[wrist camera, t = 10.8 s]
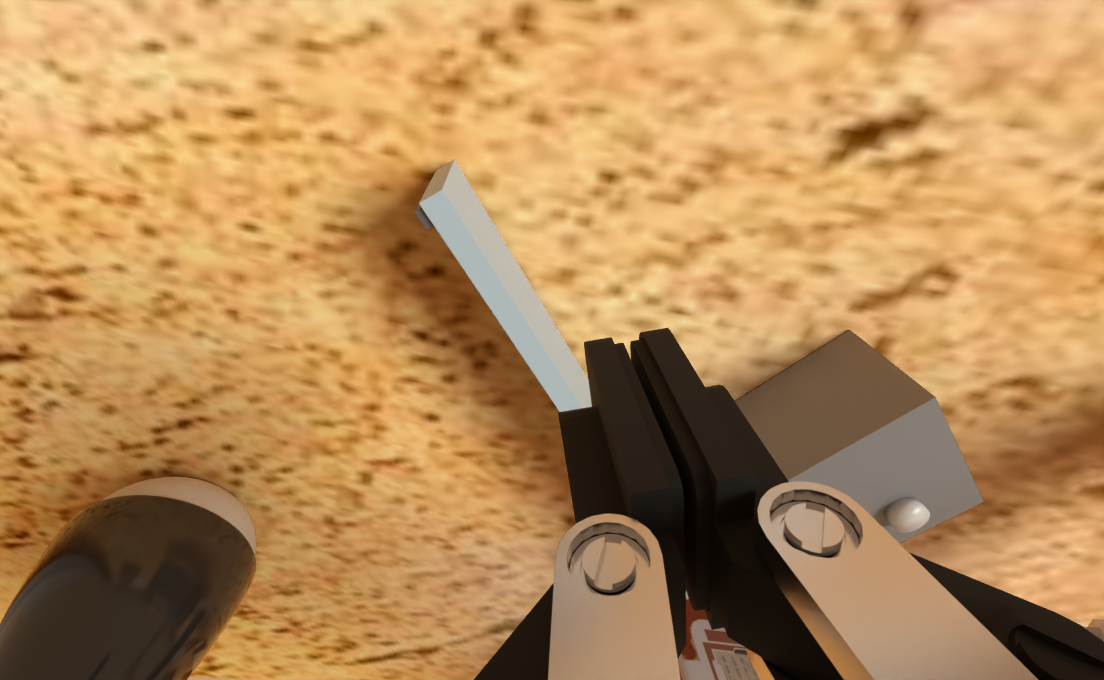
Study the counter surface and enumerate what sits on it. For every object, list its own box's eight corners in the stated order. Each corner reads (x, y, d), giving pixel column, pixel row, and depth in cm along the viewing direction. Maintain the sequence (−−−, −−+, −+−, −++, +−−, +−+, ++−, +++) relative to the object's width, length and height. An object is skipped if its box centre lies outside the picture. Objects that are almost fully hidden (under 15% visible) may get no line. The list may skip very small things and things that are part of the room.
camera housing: (849, 329, 31) (947, 407, 24) (900, 424, 35) (995, 512, 28) (594, 489, 36) (616, 591, 29) (666, 555, 40) (701, 657, 33)
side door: (429, 173, 24) (408, 210, 18) (456, 157, 24) (443, 189, 18) (620, 471, 35) (644, 551, 29) (640, 462, 34) (668, 541, 29)
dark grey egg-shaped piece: (65, 473, 31) (-259, 787, 18) (225, 432, 30) (17, 723, 17) (167, 574, 36) (-24, 875, 23) (306, 540, 35) (192, 827, 22)
